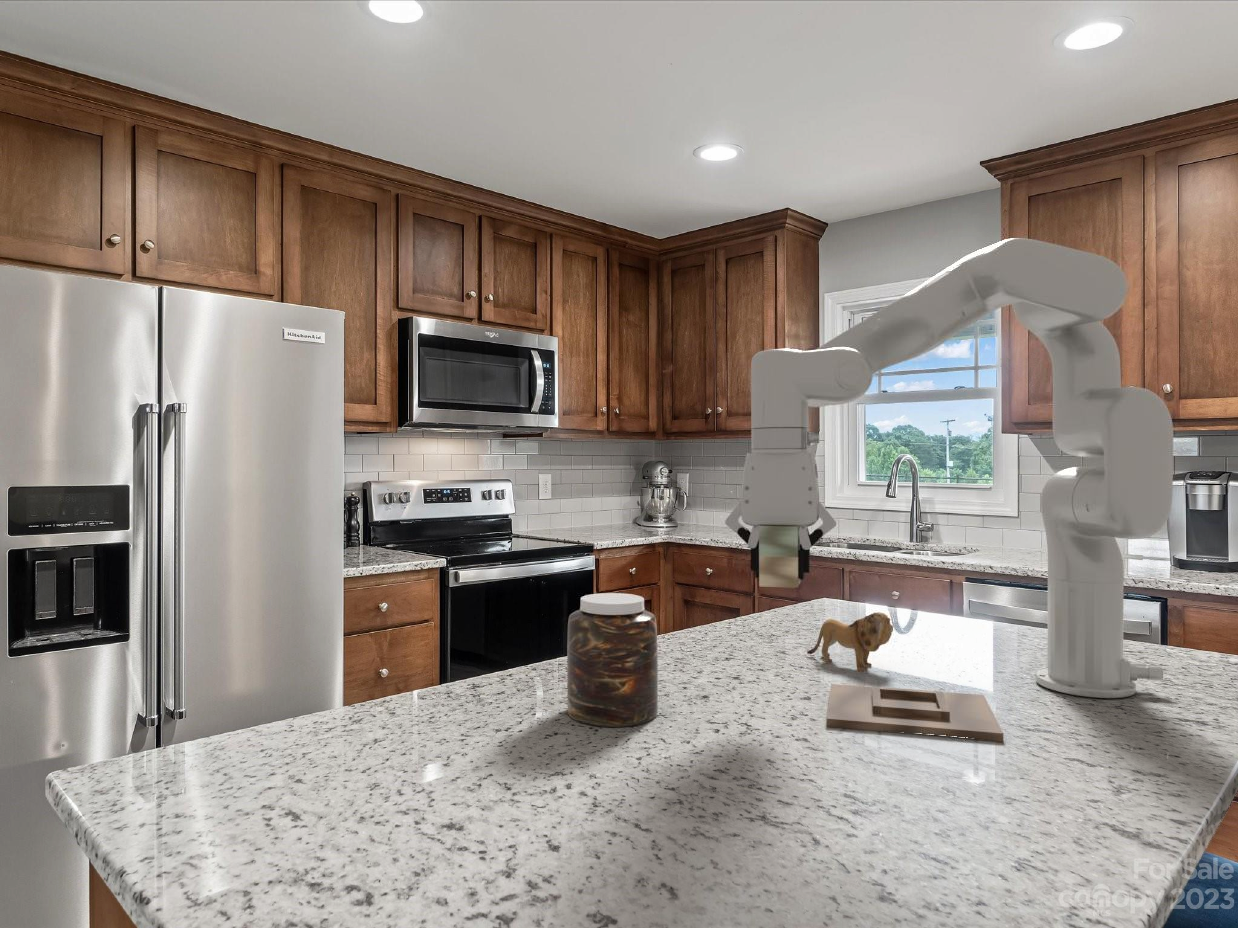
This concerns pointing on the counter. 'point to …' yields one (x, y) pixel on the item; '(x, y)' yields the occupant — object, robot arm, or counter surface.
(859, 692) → the walnut socket board
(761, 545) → the two-tone block
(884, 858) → the counter surface
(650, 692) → the jar
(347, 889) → the counter surface
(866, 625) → the lion figurine
